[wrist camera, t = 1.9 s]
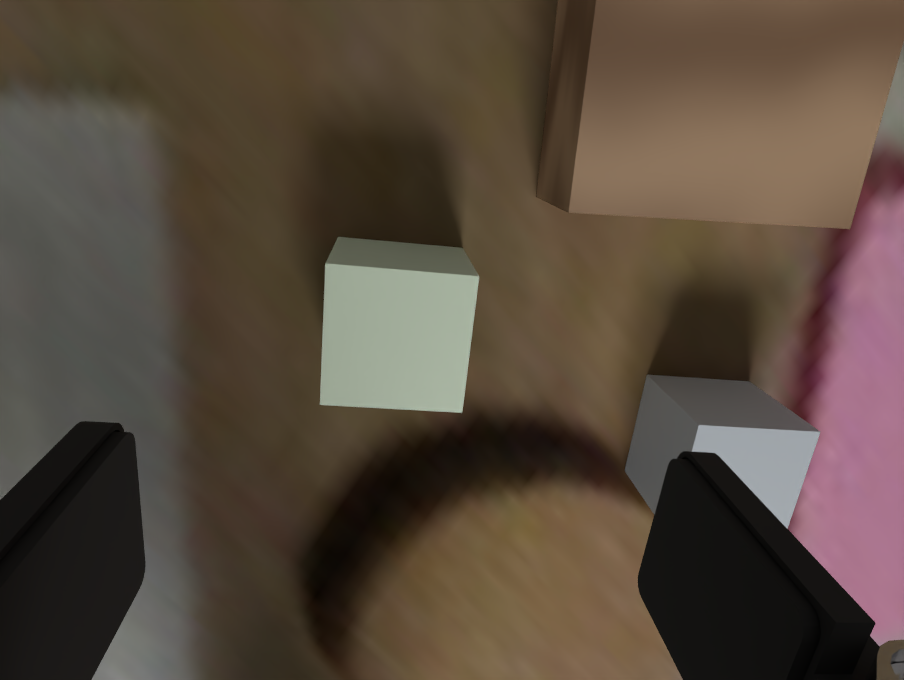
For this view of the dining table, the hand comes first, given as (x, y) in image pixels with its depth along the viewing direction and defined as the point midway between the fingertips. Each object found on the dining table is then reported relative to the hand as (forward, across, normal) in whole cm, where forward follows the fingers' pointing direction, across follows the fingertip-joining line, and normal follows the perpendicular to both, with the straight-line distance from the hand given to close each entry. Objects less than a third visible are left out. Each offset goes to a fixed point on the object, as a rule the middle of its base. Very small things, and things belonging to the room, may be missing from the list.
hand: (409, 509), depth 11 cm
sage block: (+15, 0, +1) cm, 15 cm away
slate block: (+15, -14, +6) cm, 21 cm away
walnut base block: (+16, -10, -9) cm, 21 cm away
